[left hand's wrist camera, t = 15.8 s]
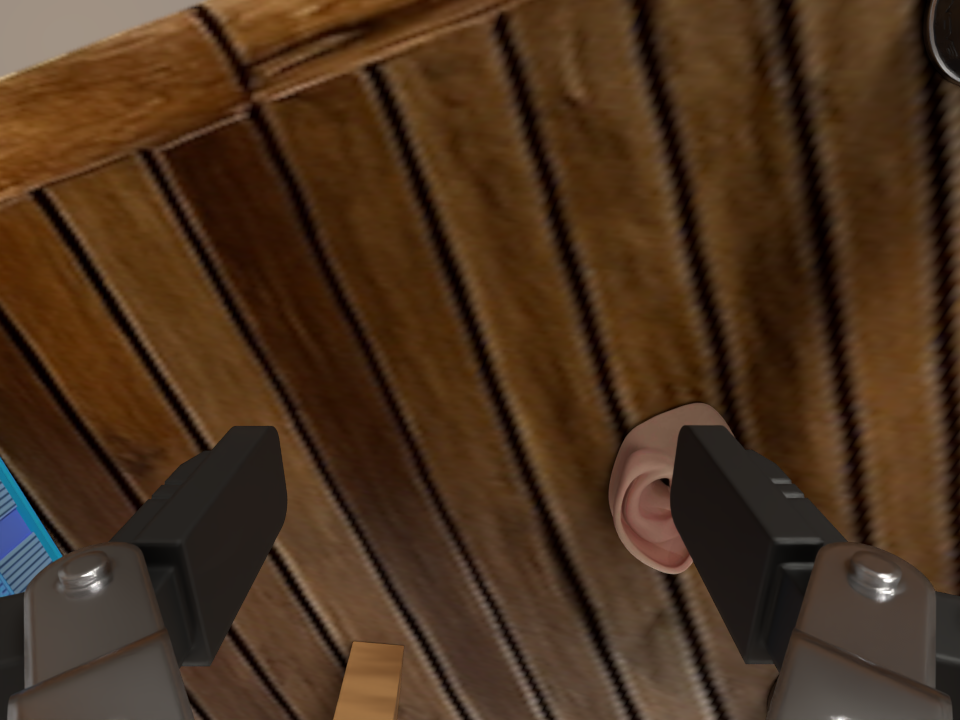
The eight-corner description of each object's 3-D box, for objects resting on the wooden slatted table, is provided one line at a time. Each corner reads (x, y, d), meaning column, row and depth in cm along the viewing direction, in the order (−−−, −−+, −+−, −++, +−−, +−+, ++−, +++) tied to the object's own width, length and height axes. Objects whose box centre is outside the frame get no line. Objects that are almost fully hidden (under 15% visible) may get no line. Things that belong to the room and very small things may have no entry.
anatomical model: (700, 402, 41) (800, 488, 44) (682, 380, 45) (775, 461, 48) (575, 518, 45) (674, 591, 47) (567, 489, 48) (660, 559, 51)
